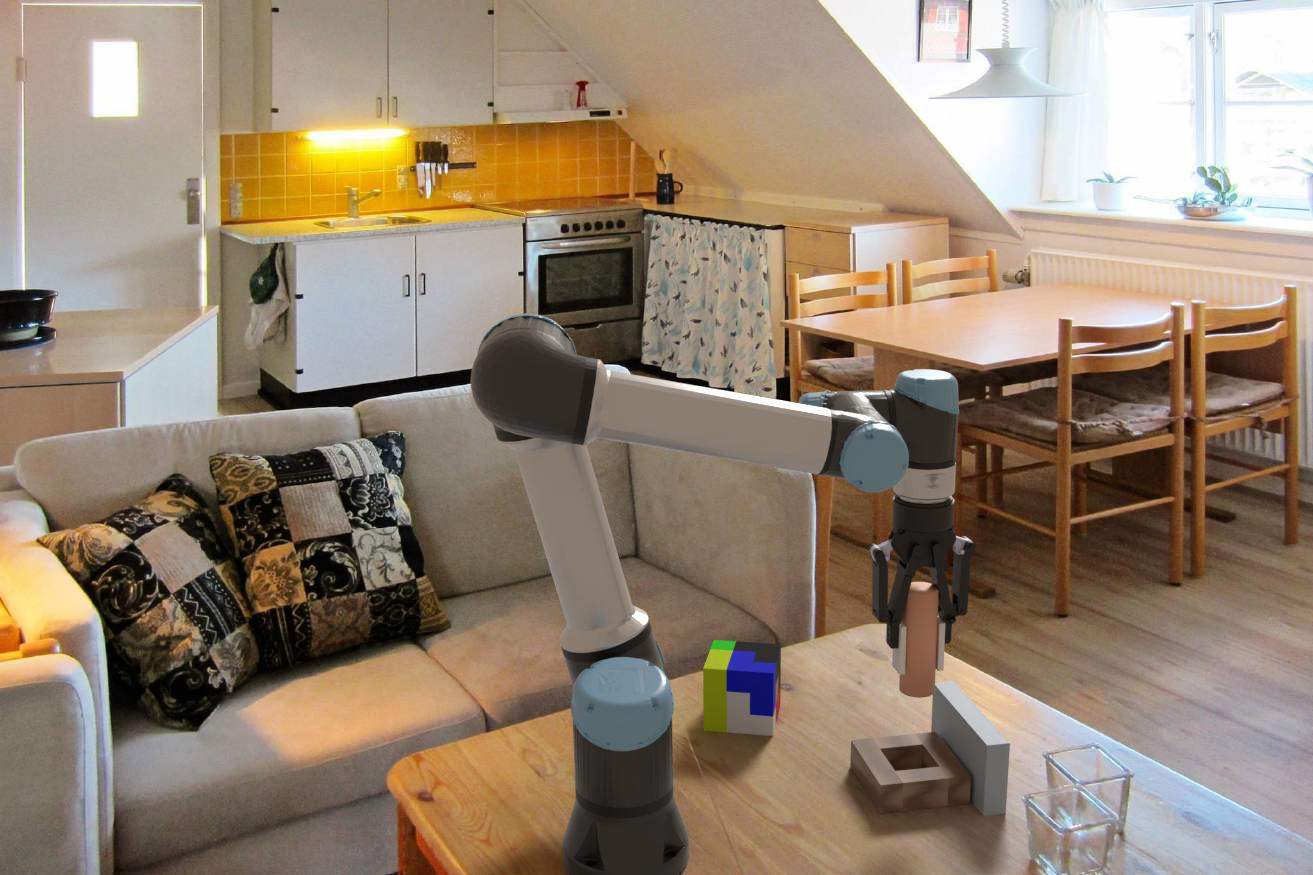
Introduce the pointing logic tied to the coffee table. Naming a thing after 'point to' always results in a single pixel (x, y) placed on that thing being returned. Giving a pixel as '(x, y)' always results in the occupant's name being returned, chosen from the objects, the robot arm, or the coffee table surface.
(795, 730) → the coffee table surface
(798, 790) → the coffee table surface
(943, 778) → the block
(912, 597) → the dowel
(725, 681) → the puzzle toy
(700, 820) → the coffee table surface
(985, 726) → the board
